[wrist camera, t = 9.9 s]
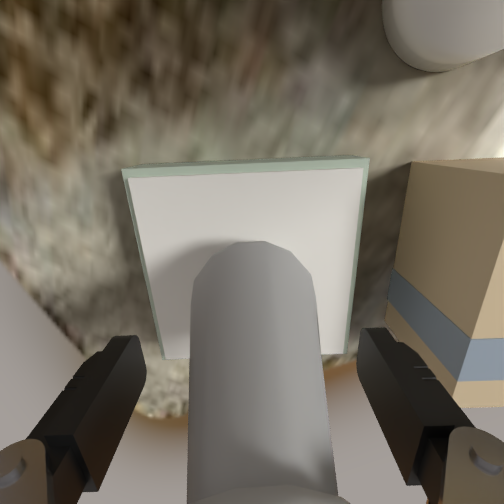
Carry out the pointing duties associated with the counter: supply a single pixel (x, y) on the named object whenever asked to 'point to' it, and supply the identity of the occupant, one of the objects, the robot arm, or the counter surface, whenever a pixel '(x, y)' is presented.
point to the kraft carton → (453, 276)
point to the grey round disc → (443, 31)
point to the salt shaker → (257, 383)
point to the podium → (248, 230)
